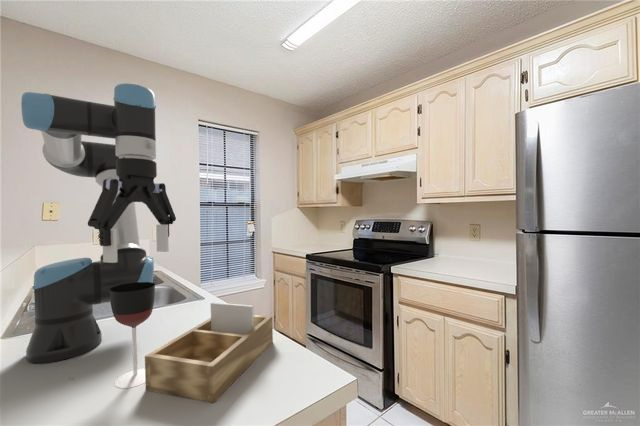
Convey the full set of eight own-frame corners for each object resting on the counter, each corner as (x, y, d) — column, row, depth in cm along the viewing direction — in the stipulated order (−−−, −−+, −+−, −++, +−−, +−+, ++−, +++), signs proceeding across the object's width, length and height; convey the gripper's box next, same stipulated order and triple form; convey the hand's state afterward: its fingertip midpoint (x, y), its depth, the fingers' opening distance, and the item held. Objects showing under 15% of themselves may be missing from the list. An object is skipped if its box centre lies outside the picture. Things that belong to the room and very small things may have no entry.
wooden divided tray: (145, 390, 60) (144, 356, 60) (221, 335, 85) (221, 311, 85) (213, 403, 55) (212, 366, 55) (272, 341, 80) (272, 316, 80)
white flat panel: (211, 344, 77) (210, 303, 77) (213, 343, 78) (212, 302, 78) (252, 350, 74) (251, 306, 74) (254, 348, 75) (253, 305, 74)
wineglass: (137, 390, 60) (135, 292, 59) (102, 386, 61) (99, 291, 61) (165, 369, 67) (163, 282, 67) (133, 366, 69) (131, 281, 69)
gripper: (93, 147, 51) (97, 269, 52) (189, 165, 75) (191, 248, 76) (61, 150, 53) (64, 267, 54) (165, 167, 77) (167, 247, 78)
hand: (139, 256), depth 65 cm, fingers open, 13 cm apart
